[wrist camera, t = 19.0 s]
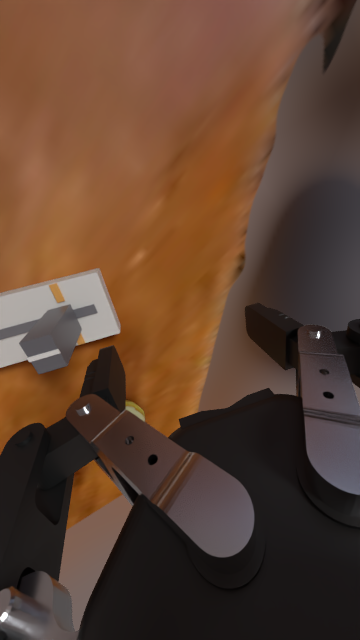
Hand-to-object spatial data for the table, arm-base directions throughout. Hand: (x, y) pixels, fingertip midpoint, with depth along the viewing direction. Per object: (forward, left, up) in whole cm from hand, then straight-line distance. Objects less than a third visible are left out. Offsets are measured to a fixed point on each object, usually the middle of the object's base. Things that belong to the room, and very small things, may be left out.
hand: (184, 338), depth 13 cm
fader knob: (-7, -12, -21) cm, 25 cm away
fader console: (-11, -16, -24) cm, 31 cm away
